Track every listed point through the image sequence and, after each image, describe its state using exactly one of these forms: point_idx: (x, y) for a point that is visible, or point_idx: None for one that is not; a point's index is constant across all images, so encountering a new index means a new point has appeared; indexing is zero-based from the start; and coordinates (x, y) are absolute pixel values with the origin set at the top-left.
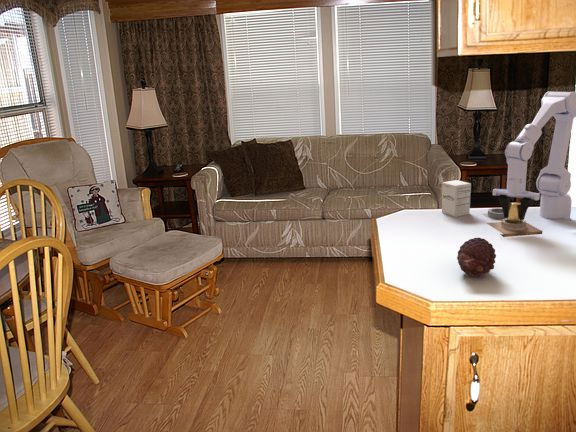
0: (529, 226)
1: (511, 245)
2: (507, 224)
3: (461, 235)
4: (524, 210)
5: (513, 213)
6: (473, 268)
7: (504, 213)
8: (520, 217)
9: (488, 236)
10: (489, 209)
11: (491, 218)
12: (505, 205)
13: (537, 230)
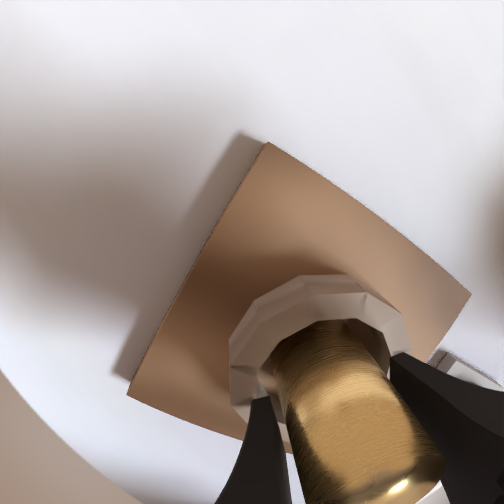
0: (242, 422)
1: (117, 29)
2: (333, 290)
3: (453, 26)
4: (231, 473)
5: (340, 400)
6: None
7: (422, 368)
8: (268, 409)
9: (352, 86)
10: None
11: (466, 377)
12: (464, 417)
13: (152, 389)
